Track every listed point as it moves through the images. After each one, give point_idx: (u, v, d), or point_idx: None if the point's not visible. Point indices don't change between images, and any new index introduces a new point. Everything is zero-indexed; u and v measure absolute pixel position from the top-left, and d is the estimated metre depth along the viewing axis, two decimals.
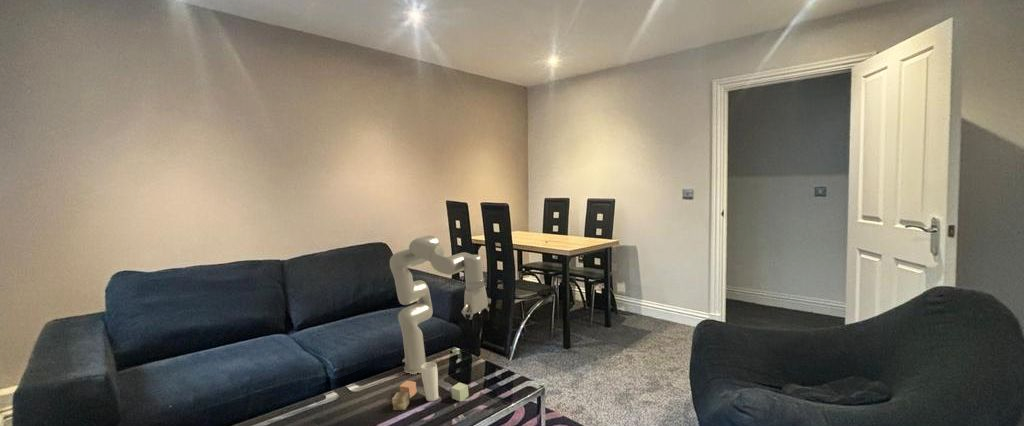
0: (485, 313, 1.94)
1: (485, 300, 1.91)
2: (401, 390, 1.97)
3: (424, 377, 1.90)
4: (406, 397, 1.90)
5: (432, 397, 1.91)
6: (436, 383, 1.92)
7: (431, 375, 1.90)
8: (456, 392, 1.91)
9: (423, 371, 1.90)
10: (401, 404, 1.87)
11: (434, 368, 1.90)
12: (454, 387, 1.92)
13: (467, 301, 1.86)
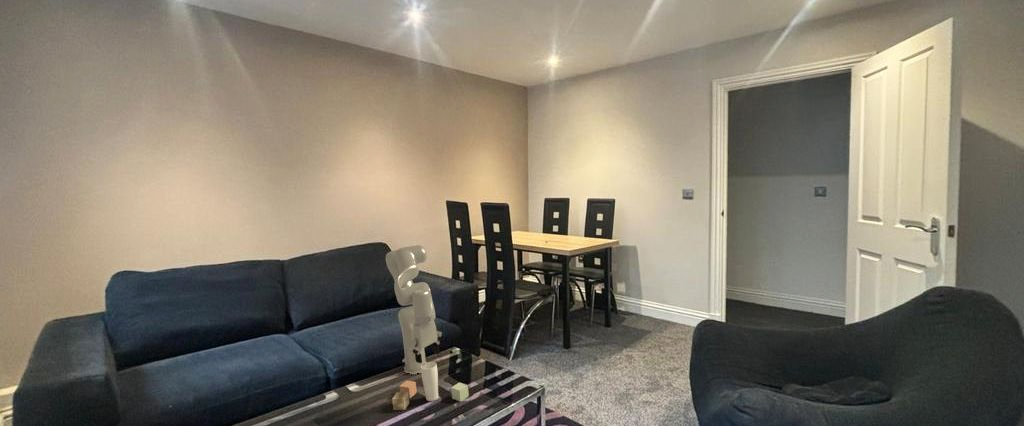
0: (435, 347, 1.94)
1: (434, 334, 1.91)
2: (401, 390, 1.97)
3: (424, 377, 1.90)
4: (406, 397, 1.90)
5: (432, 397, 1.91)
6: (436, 383, 1.92)
7: (431, 375, 1.90)
8: (456, 392, 1.91)
9: (423, 371, 1.90)
10: (401, 404, 1.87)
11: (434, 368, 1.90)
12: (454, 387, 1.92)
13: (415, 336, 1.86)
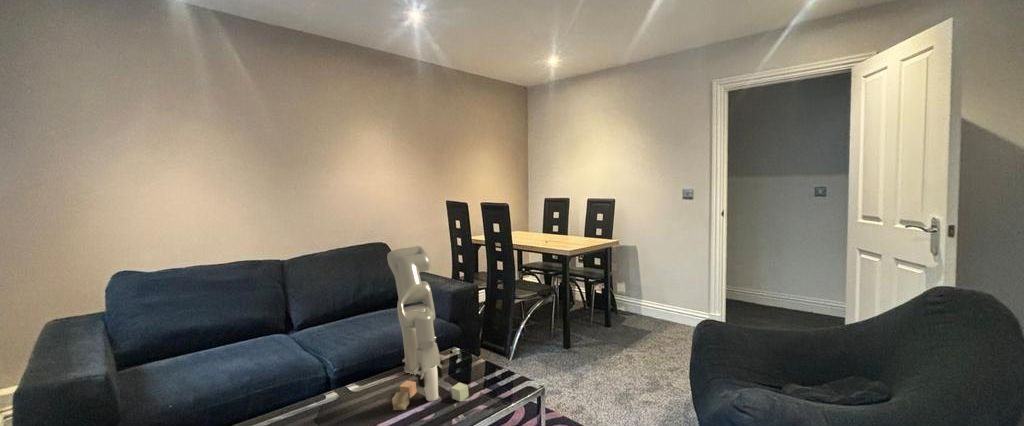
0: (438, 370, 1.96)
1: (437, 358, 1.93)
2: (401, 390, 1.97)
3: (424, 377, 1.90)
4: (406, 397, 1.90)
5: (432, 397, 1.91)
6: (436, 383, 1.92)
7: (431, 375, 1.90)
8: (456, 392, 1.91)
9: None
10: (401, 404, 1.87)
11: (434, 368, 1.90)
12: (454, 387, 1.92)
13: (418, 360, 1.88)
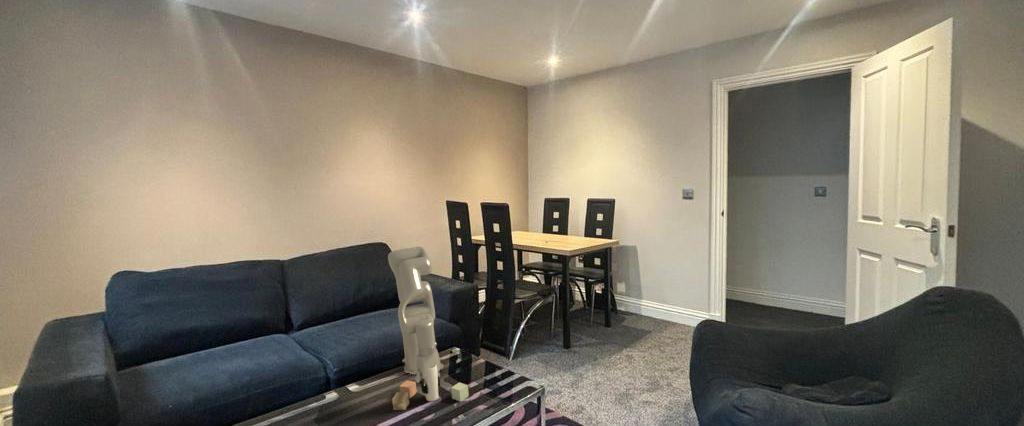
0: None
1: (437, 364, 1.93)
2: (401, 390, 1.97)
3: None
4: (406, 397, 1.90)
5: (432, 397, 1.91)
6: (436, 383, 1.92)
7: (431, 375, 1.90)
8: (456, 392, 1.91)
9: None
10: (401, 404, 1.87)
11: (434, 368, 1.90)
12: (454, 387, 1.92)
13: (418, 367, 1.88)
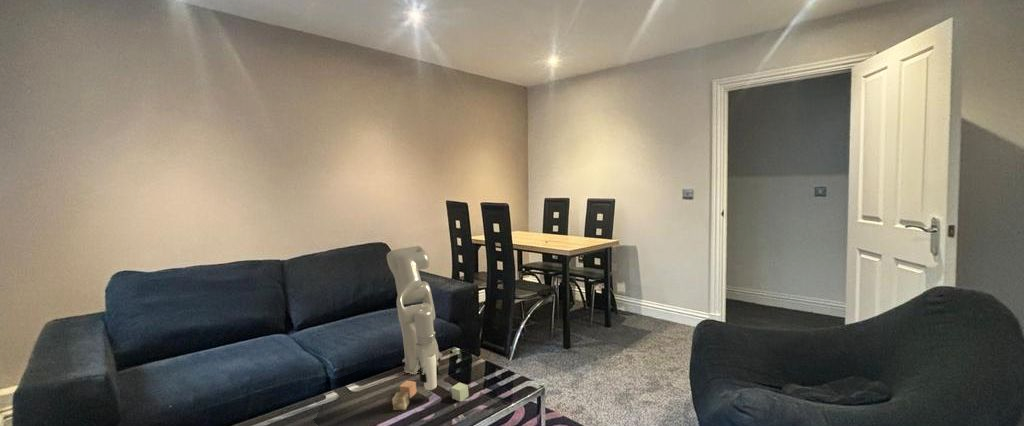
0: None
1: (436, 353, 1.93)
2: (401, 390, 1.97)
3: None
4: (406, 397, 1.90)
5: (431, 386, 1.91)
6: (435, 372, 1.92)
7: (429, 365, 1.89)
8: (456, 392, 1.91)
9: None
10: (401, 404, 1.87)
11: (433, 357, 1.90)
12: (454, 387, 1.92)
13: (417, 356, 1.88)
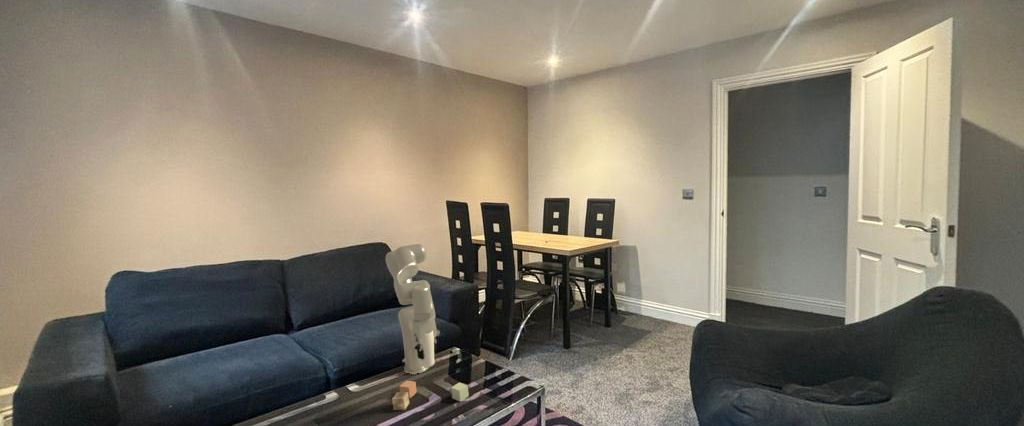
0: None
1: (434, 330, 1.92)
2: (401, 390, 1.97)
3: None
4: (406, 397, 1.90)
5: (428, 363, 1.90)
6: (432, 349, 1.90)
7: (427, 341, 1.88)
8: (456, 392, 1.91)
9: None
10: (401, 404, 1.87)
11: (430, 334, 1.89)
12: (454, 387, 1.92)
13: (414, 332, 1.87)
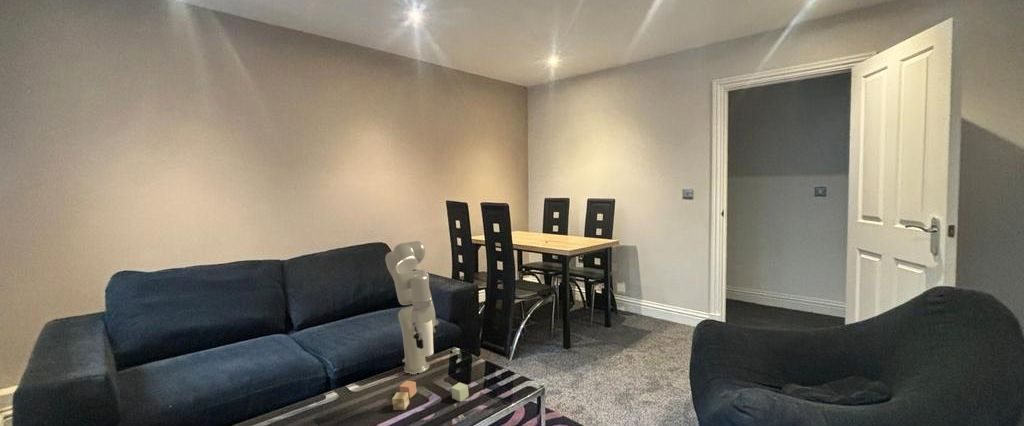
0: None
1: (433, 319, 1.91)
2: (401, 390, 1.97)
3: None
4: (406, 397, 1.90)
5: (427, 352, 1.89)
6: (431, 338, 1.89)
7: (426, 330, 1.87)
8: (456, 392, 1.91)
9: None
10: (401, 404, 1.87)
11: (429, 323, 1.88)
12: (454, 387, 1.92)
13: (413, 321, 1.86)
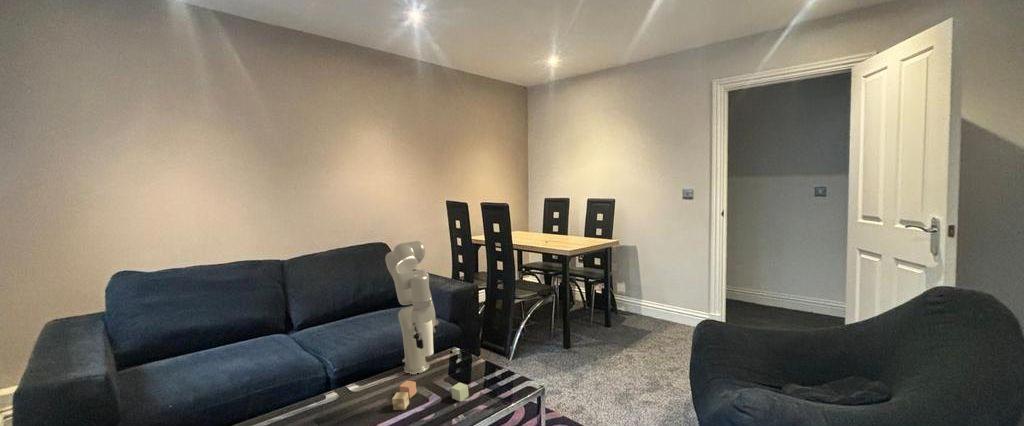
0: None
1: (433, 319, 1.91)
2: (401, 390, 1.97)
3: None
4: (406, 397, 1.90)
5: (427, 352, 1.89)
6: (431, 338, 1.89)
7: (426, 330, 1.87)
8: (456, 392, 1.91)
9: None
10: (401, 404, 1.87)
11: (429, 323, 1.88)
12: (454, 387, 1.92)
13: (413, 321, 1.86)
